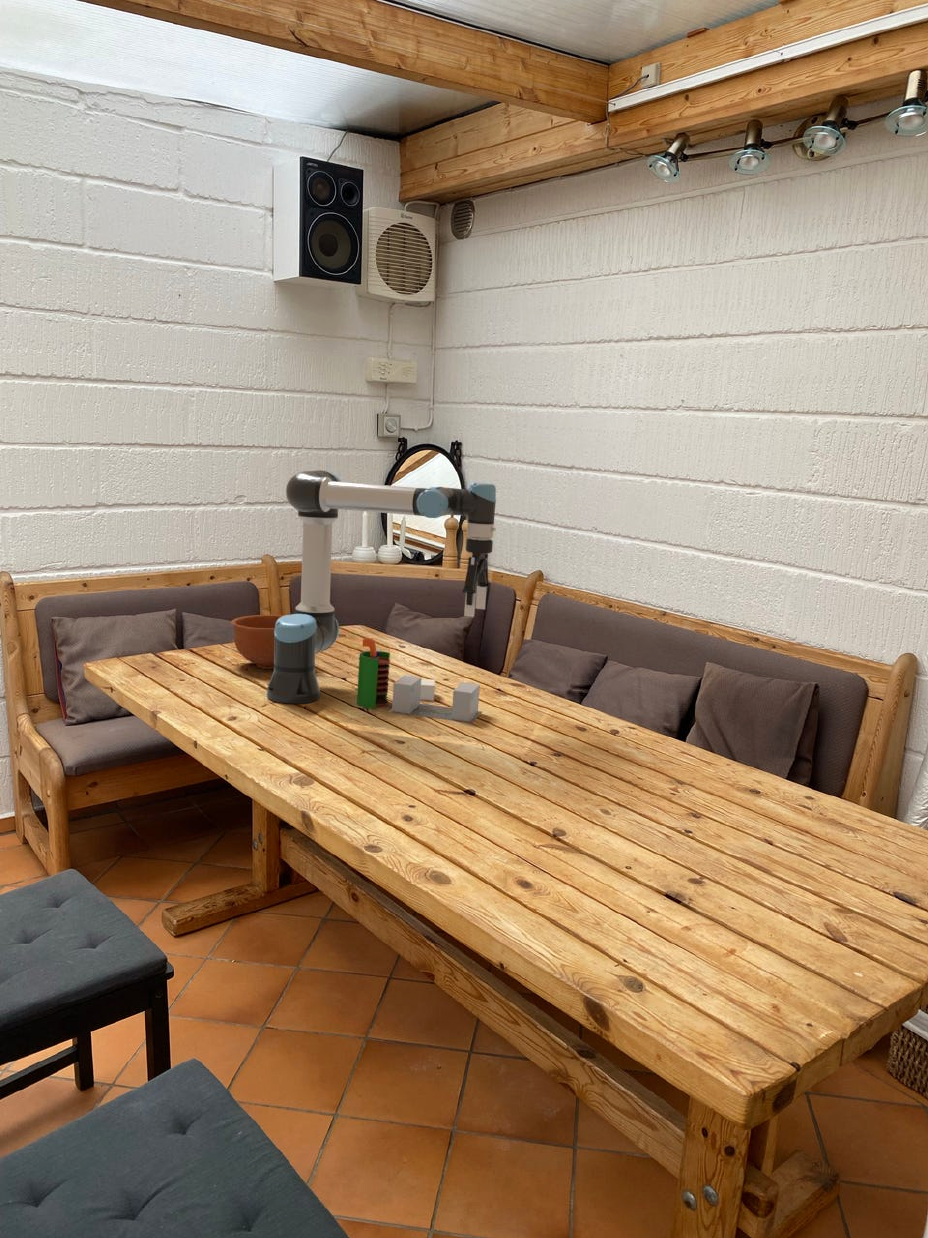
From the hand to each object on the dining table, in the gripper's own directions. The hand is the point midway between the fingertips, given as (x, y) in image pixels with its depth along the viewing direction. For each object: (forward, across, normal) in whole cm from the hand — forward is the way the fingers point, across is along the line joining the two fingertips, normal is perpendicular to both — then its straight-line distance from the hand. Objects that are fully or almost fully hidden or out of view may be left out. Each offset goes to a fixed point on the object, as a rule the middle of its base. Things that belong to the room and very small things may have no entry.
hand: (474, 612), depth 272 cm
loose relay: (+28, 0, +13) cm, 31 cm away
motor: (+28, -14, +25) cm, 40 cm away
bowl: (+28, +18, +71) cm, 79 cm away
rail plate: (+28, -14, +6) cm, 32 cm away
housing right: (+26, -14, -2) cm, 30 cm away
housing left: (+26, -14, +15) cm, 33 cm away
